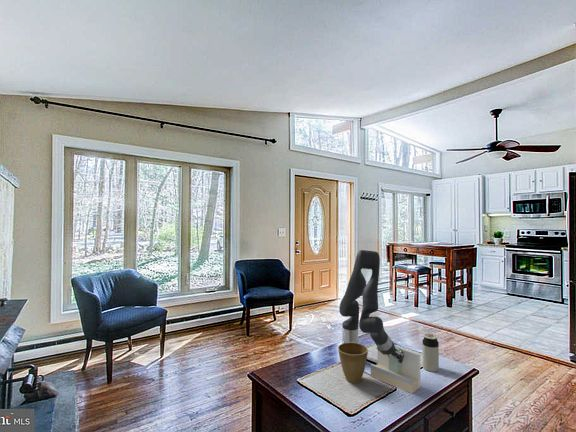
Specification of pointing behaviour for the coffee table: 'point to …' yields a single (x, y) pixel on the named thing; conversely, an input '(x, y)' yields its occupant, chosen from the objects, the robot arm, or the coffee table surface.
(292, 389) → the coffee table surface
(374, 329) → the robot arm
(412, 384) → the white display stand
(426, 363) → the travel mug
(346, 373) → the plant pot
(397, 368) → the pale green block
